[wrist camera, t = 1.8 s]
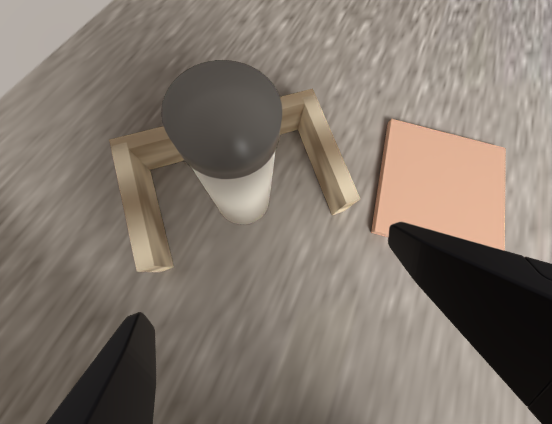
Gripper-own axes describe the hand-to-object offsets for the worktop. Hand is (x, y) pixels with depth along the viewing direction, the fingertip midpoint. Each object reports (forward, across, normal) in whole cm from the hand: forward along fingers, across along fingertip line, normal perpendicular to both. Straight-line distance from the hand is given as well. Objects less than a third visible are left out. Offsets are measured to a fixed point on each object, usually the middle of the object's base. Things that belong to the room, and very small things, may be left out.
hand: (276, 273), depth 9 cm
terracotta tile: (+11, -19, +8) cm, 23 cm away
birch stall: (+15, 0, +3) cm, 16 cm away
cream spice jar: (+14, 0, +4) cm, 15 cm away
